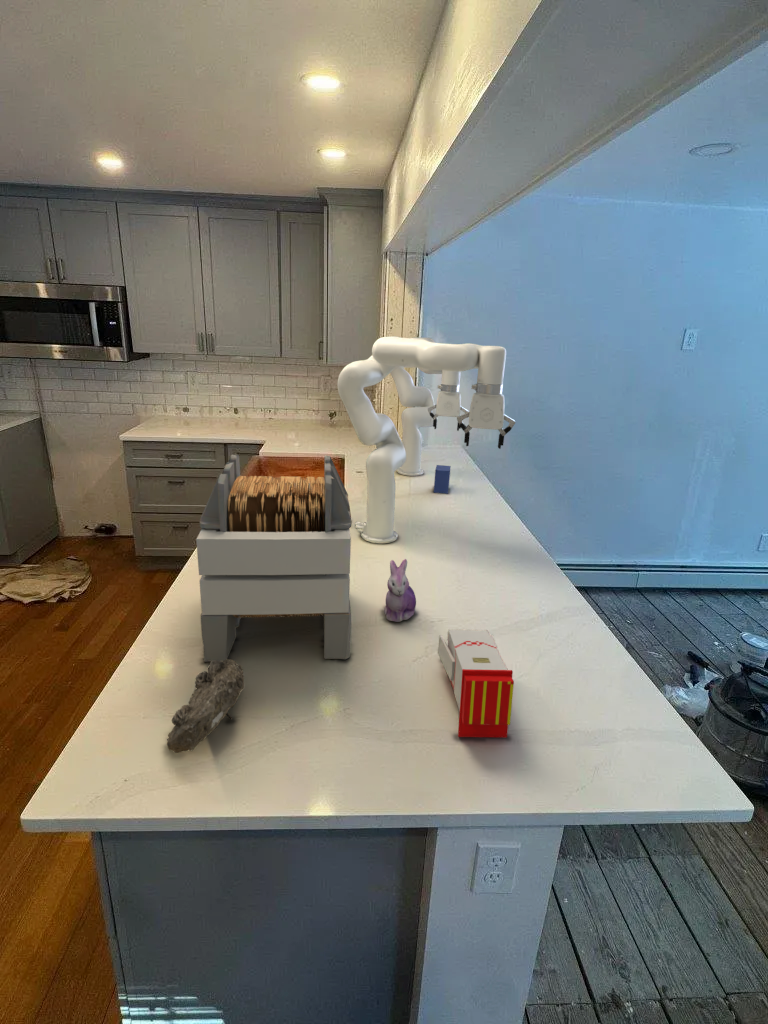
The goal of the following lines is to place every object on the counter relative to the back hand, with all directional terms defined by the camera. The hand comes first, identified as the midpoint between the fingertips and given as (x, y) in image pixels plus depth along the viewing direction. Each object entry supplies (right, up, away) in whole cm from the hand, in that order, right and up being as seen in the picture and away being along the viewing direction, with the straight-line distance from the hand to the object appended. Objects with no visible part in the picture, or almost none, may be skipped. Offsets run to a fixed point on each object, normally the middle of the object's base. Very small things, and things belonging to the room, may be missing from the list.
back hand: (446, 429), depth 241 cm
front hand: (+3, -15, -69) cm, 71 cm away
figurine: (-23, -62, -94) cm, 115 cm away
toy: (-9, -73, -123) cm, 143 cm away
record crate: (-52, -63, -100) cm, 129 cm away
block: (-1, -26, +9) cm, 27 cm away
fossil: (-59, -74, -133) cm, 164 cm away
